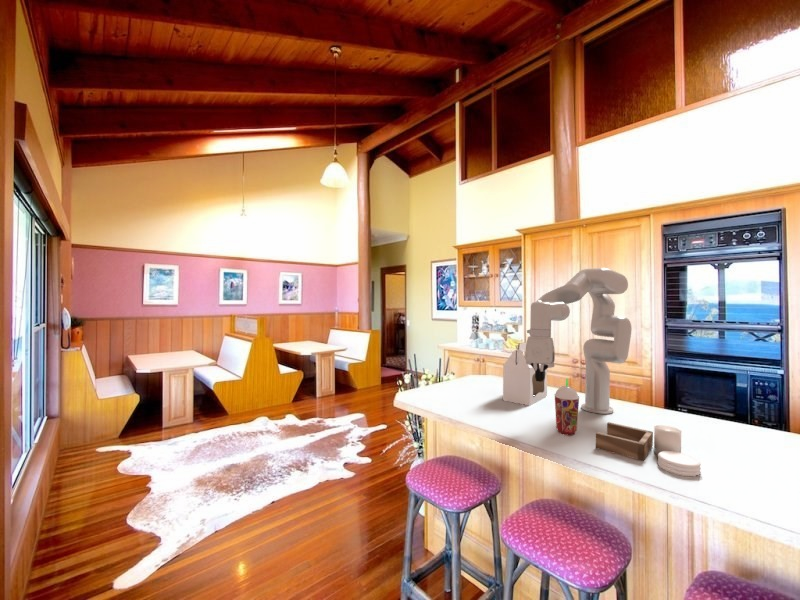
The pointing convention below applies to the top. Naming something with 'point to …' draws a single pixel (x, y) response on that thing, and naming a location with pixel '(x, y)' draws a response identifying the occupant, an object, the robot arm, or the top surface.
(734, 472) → the top surface
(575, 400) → the smoothie
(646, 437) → the u rest
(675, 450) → the beige cylinder
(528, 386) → the gable box
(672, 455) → the coaster
